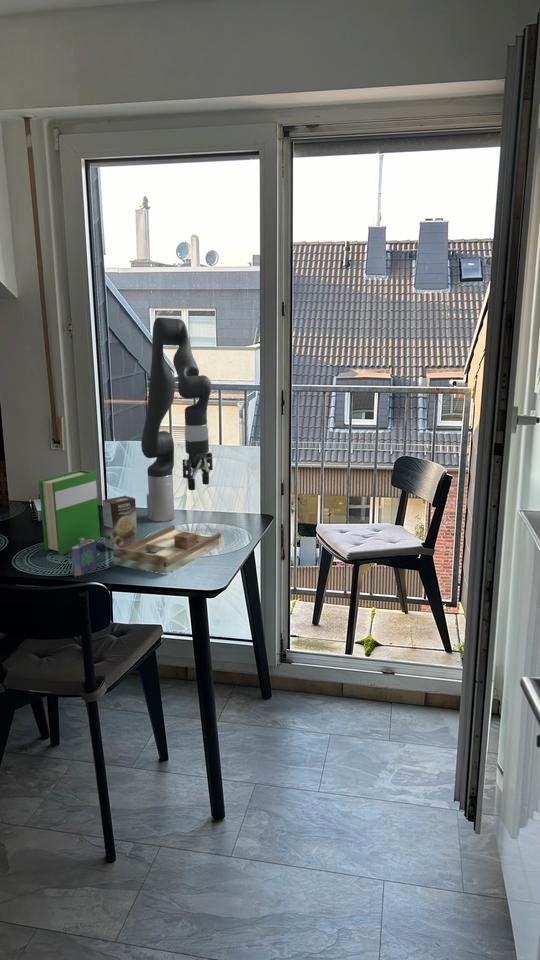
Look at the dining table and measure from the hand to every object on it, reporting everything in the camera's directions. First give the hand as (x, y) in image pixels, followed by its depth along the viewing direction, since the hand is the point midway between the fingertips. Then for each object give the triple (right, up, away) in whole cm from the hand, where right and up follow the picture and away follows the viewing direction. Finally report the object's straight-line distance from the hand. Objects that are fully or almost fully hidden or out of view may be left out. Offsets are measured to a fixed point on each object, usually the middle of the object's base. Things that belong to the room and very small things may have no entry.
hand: (198, 487), depth 226 cm
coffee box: (-27, -20, +7) cm, 34 cm away
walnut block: (-4, -19, -3) cm, 20 cm away
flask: (-33, -26, -17) cm, 45 cm away
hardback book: (-43, -20, +7) cm, 48 cm away
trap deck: (-9, -22, -3) cm, 24 cm away
